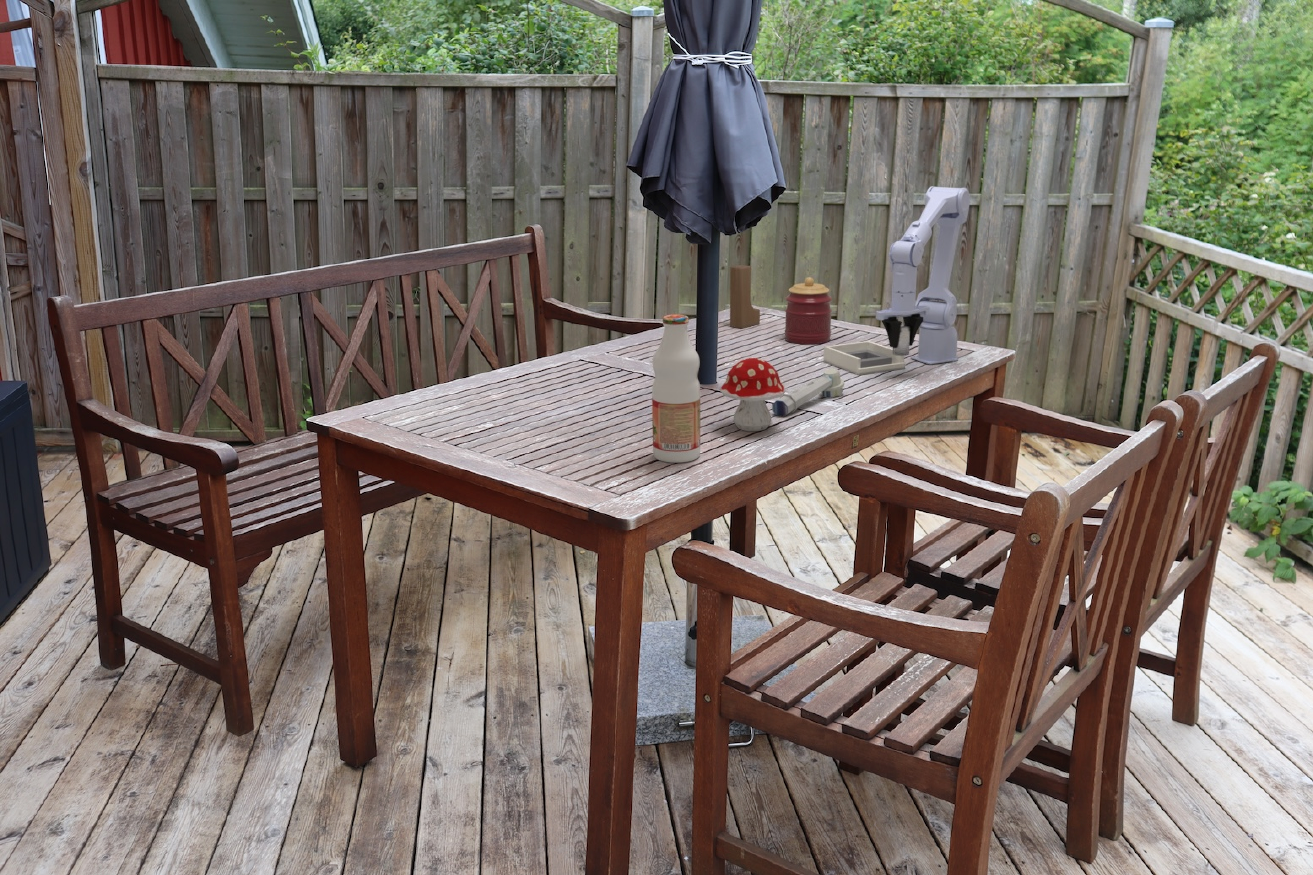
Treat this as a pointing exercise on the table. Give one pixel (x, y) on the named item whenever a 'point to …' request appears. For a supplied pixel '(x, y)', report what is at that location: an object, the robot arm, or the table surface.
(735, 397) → the decorative mushroom
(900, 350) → the metal plug
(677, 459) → the fruit juice
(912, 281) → the robot arm
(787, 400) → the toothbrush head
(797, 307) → the canister
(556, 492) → the table surface
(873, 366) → the walled box
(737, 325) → the wooden block
